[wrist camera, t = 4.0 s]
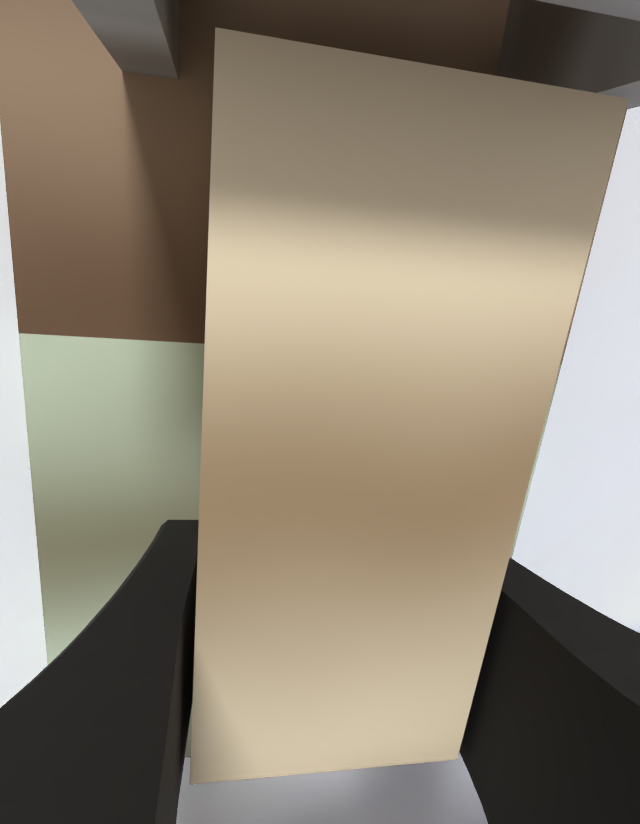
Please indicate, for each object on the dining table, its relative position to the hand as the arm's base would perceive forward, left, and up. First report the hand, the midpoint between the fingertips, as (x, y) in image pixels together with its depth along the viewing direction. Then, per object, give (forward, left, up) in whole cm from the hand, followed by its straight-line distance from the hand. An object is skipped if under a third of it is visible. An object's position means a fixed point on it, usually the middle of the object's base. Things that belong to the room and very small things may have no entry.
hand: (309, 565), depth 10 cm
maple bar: (+3, 0, -1) cm, 3 cm away
